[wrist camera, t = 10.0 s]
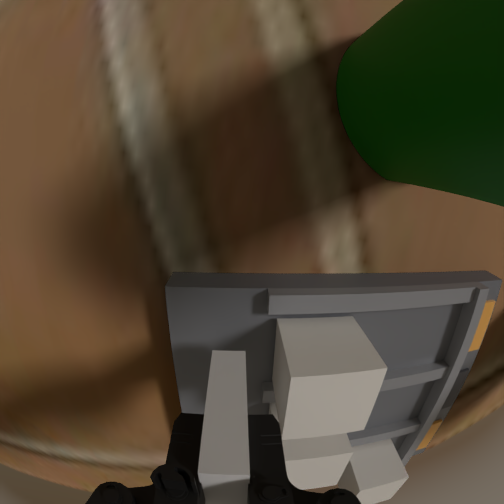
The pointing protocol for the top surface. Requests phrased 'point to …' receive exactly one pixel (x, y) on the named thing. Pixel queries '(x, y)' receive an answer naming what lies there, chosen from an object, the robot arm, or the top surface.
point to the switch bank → (339, 305)
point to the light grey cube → (315, 458)
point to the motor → (430, 96)
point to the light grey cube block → (324, 376)
